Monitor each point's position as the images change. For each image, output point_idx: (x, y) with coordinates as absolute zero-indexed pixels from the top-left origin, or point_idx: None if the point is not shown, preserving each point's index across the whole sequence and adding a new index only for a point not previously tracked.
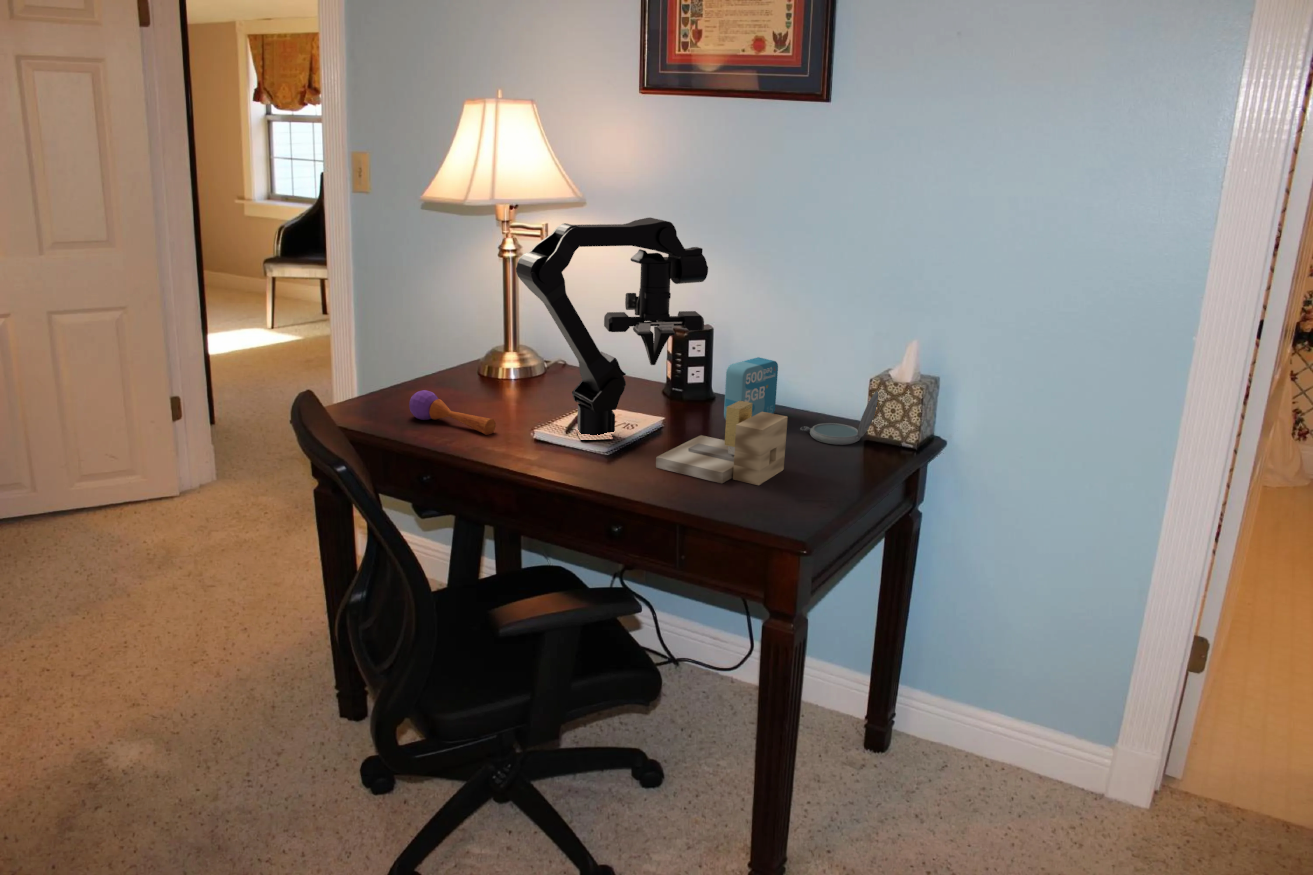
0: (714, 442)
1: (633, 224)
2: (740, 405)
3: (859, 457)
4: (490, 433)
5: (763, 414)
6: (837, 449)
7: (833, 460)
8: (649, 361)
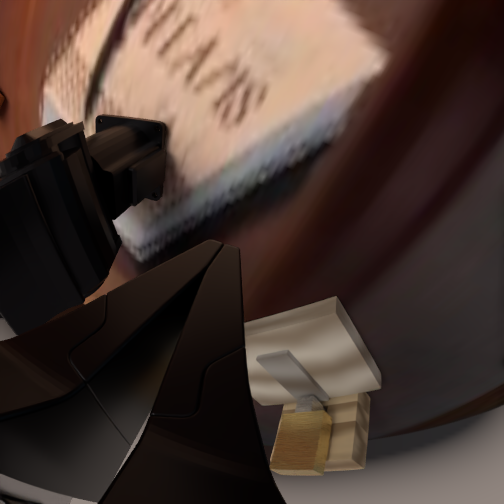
0: (330, 348)
1: None
2: (295, 473)
3: (479, 394)
4: (2, 102)
5: (340, 462)
6: (492, 374)
7: (449, 395)
8: (198, 246)
